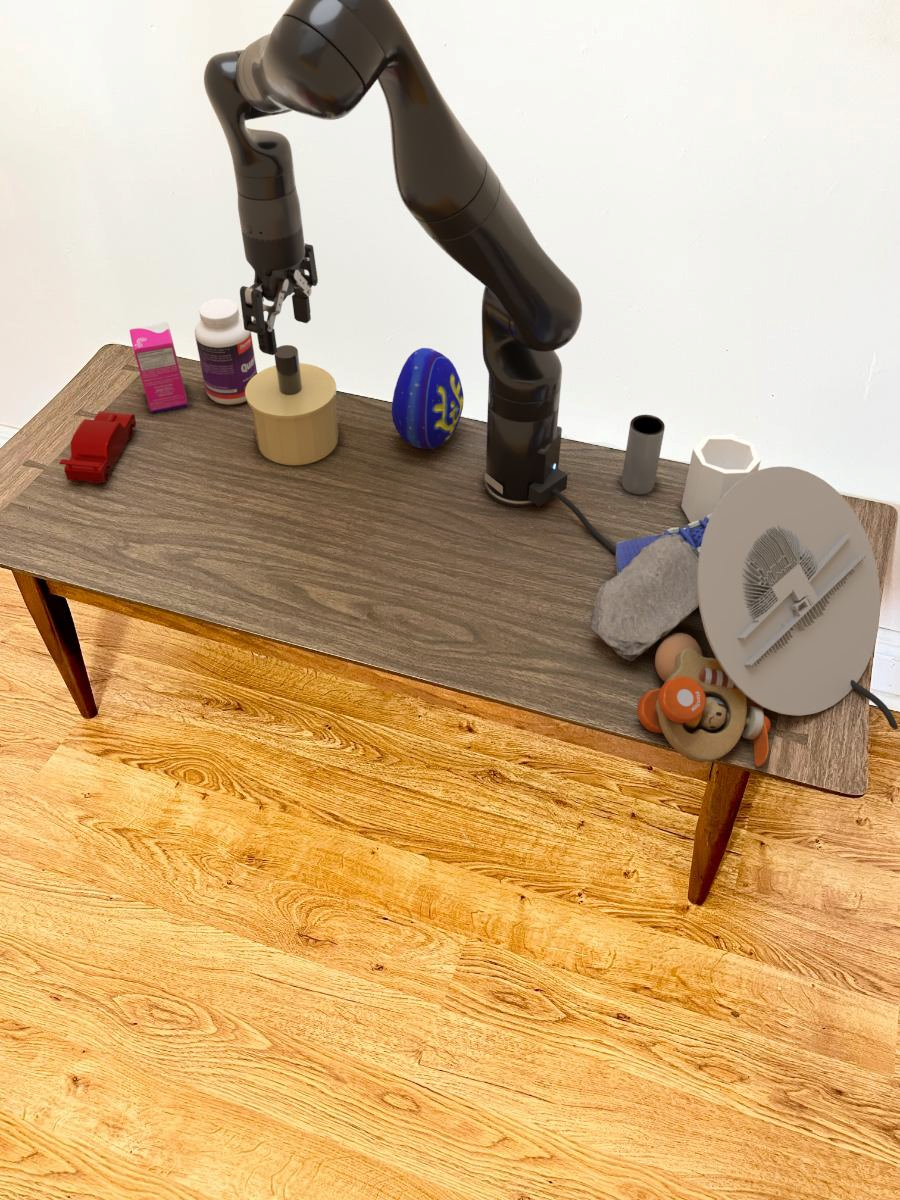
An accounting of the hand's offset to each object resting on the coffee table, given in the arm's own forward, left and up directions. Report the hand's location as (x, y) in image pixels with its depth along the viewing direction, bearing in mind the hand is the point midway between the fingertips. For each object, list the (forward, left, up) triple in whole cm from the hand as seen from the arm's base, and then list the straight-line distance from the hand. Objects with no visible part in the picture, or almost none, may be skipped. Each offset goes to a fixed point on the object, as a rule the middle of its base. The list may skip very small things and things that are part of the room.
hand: (286, 336), depth 144 cm
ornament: (-17, -7, -17) cm, 25 cm away
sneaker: (-63, +3, -17) cm, 66 cm away
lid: (0, +1, -9) cm, 9 cm away
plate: (-72, +11, -7) cm, 73 cm away
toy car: (+23, +16, -17) cm, 33 cm away
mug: (-59, -11, -17) cm, 62 cm away
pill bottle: (+15, -5, -17) cm, 23 cm away
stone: (-53, +13, -10) cm, 55 cm away
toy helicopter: (-63, +23, -10) cm, 67 cm away
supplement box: (+23, +1, -17) cm, 29 cm away
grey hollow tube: (-48, -11, -17) cm, 52 cm away
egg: (-64, +24, -14) cm, 69 cm away
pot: (0, +1, -17) cm, 17 cm away
